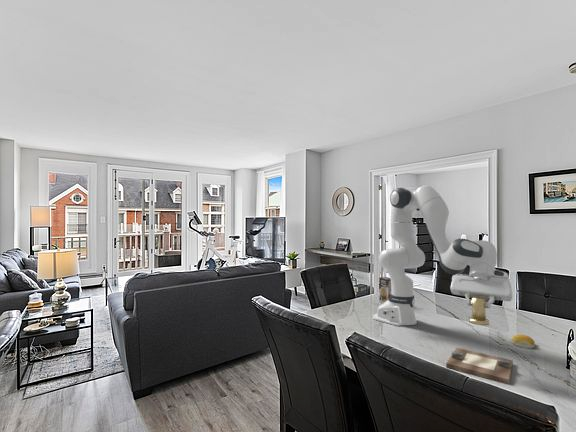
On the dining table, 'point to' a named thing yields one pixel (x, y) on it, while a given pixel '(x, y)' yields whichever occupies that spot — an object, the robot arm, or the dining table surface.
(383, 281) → the coffee box
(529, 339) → the bread roll
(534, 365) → the dining table surface
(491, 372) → the board
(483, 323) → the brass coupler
